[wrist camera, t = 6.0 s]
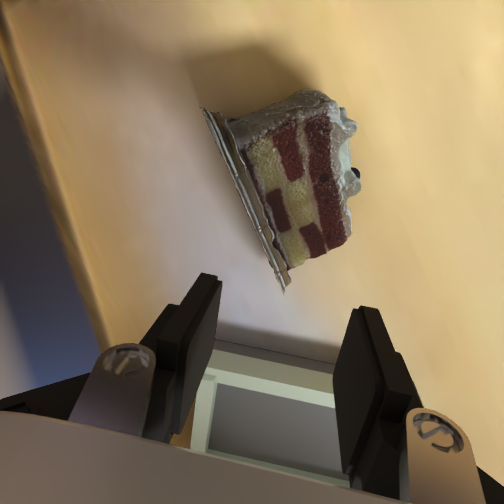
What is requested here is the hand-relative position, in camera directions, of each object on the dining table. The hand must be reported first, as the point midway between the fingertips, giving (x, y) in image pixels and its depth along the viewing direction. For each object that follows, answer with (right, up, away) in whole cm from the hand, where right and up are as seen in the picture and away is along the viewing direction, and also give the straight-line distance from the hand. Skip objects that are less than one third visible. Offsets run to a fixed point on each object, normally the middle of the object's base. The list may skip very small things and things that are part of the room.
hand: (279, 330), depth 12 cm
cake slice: (+3, +4, +14) cm, 14 cm away
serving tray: (+3, -11, +18) cm, 21 cm away
